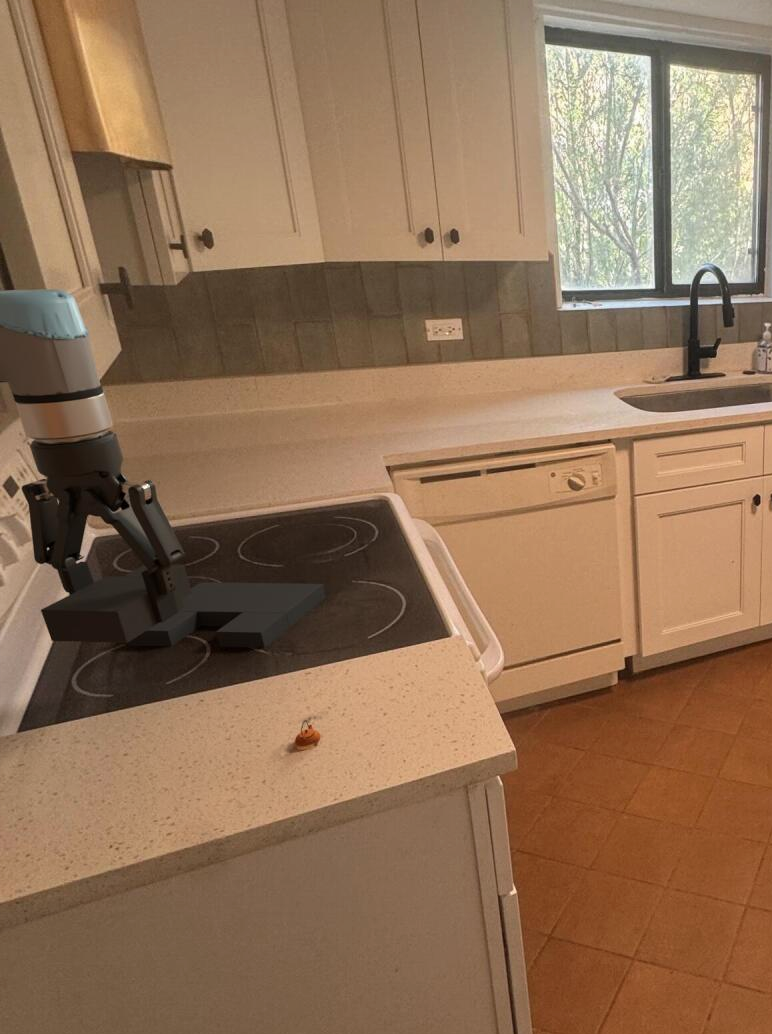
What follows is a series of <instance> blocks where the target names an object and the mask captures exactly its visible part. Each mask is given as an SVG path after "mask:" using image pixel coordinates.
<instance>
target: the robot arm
mask: <svg viewBox="0 0 772 1034" xmlns="http://www.w3.org/2000/svg"><path fill="white" fill-rule="evenodd" d="M89 333H90V332H89V330H88V327H87V326H85V322H84V320H83V317H82V315H81V312H80V309H79V306H78V303H77V301H76V299H75V297H74V296H73V295H72V294H71V293H69V292H67V291H65V290H62V289H56V288H55V289H54V288H53V289H52V288H51V289H50V288H37V289H8V290H7V289H6V290H0V383H8V386H9V389H10V391H11V394H12V397H13V400H14V403H15V405H16V410H17V412H18V415H19V418H20V422H21V424H22V428H23V432H24V435H25V437H27V438H29V439H32V440H33V441H31V443H30V444H29V448H30V452H31V454H32V457H33V460H34V463H35V467H36V469H37V472H38V473H39V474H41V475H42V476H44V477H46V478H42V479H39V480H35V481H31V482H29V483H27V484H24V485H22V486H21V491H22V493H23V496H24V498H25V501H26V502H27V504H28V512H29V520H30V521H29V522H30V530H31V539H32V548H33V556H34V557H33V558H34V561H35V562H36V563H37V564H39V565H44V564H48V565H50V566H51V567H52V568H53V569H54V570H56V571H57V573H58V576H59V579H60V583H61V585H62V588H63V590H64V591H65V592H66V593H68V596H69V595H71V594H73V593H75V592H77V591H79V590H81V589H83V588H85V587H86V586H88V585H90V584H92V583H94V582H95V581H94V579H93V575H92V572H91V570H90V566H89V564H88V561H81V560H83V559H84V558H85V556H84V555H81V551H82V545H83V541H84V535H85V531H86V527H87V521H88V517H89V516H93V517H97V518H98V517H99V518H100V519H102V521H103V522H104V523H105V524H106V525H110V526H112V527H113V528H114V530H115V531H116V532H117V533H118V534H119V536H120V538H122V540H123V541H124V542H125V543H126V544H127V546H128V547H129V549H131V551H132V552H133V553H134V554H135V555H136V557H137V558H138V560H140V561H141V563H142V564H143V565H145V566H146V567H147V570H145V571H143V572H142V576H143V580H144V583H145V586H146V590H147V593H148V596H149V599H150V602H151V606H152V609H153V612H154V616H155V619H156V622H164V621H165V620H167V619H169V618H170V617H172V616H173V615H175V614H177V613H178V612H179V611H178V607H177V604H176V600H175V597H174V593H173V591H174V590H176V584H175V580H174V577H173V573H172V570H171V565H172V564H176V563H178V562H179V561H182V560H183V559H185V557H186V552H185V550H184V549H183V546H182V545H181V543H180V541H179V539H178V537H177V535H176V533H175V531H174V529H173V527H172V525H171V524H170V521H169V519H168V518H167V515H166V514H165V512H164V510H163V508H162V506H161V504H160V502H159V500H158V495H157V489H156V484H155V483H154V481H152V480H150V479H148V480H145V481H142V482H135V481H129V480H128V478H127V477H126V476H125V475H124V474H123V471H122V464H123V462H124V456H123V452H122V449H121V445H120V442H119V439H118V438H119V437H118V435H117V433H115V432H114V431H112V430H110V429H111V428H112V427H113V426H114V422H113V421H112V420H113V419H112V416H111V413H110V409H109V405H108V401H107V398H106V395H105V392H104V389H103V386H102V383H101V382H100V378H99V375H98V371H97V368H96V363H95V362H96V361H95V358H94V354H93V349H92V345H91V342H90V337H89ZM119 509H121V510H120V511H118V510H119ZM155 557H156V558H155ZM78 561H79V562H78Z"/></svg>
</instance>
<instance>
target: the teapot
mask: <svg viewBox="0 0 772 1034" xmlns="http://www.w3.org/2000/svg"><path fill="white" fill-rule="evenodd" d="M305 723H306V724H307V729H304V724H305ZM320 740H321V733H320V732H319V731H318V730H316V729H314V727H313V724H309V722H308V720H307V719H305V720H303V721H302V723H301V727H300V732H299V733H298V734H297V735H296V737H295V739H294V747H295V748H296V749H297V750H301V751H303V750H310V749H313V748H315V747H317V746H318V743H319V742H320Z"/></svg>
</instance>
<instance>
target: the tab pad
mask: <svg viewBox="0 0 772 1034" xmlns="http://www.w3.org/2000/svg"><path fill="white" fill-rule="evenodd" d="M145 570H147V567H146V566H145V565H144V564H143V565H142V566H140V567H138V568H136V569H133V570H132V571H130V572H128V573H125V574H124V575H122V576H104V577H102V578H100V579H98V580H97V581H94V583H92V584H90V585H88V586H86V587H85V588H83V589H81V590H79V591H77V592H75V593H73V594H71V595H69V594H68V595H67V596H65V597H63V598H61V599H58V600H57V601H55V602H53V603H51V604H49V605H46V606H45V607H43V608H41V609H40V612H41V615H42V617H43V620H44V624H45V626H46V628H47V631H48V634H49V637H50V640H51V641H52V642H75V643H76V642H78V643H80V642H81V643H82V642H83V643H114V644H115V643H116V644H117V643H118V644H119V643H121V644H127V643H128V642H129V641H131V640H133V639H134V638H136V637H137V636H139V635H140V634H142V633H144V632H145V631H147V630H148V629H150V628H152V627H153V626H155V625H156V624H158V623H160V622H156V619H155V616H154V612H153V609H152V606H151V602H150V599H149V596H148V593H147V590H146V586H145V583H144V580H143V576H142V572H143V571H145ZM171 570H172V573H173V577H174V580H175V584H176V590H174V591H173V593H174V597H175V600H176V604H177V607H178V611H179V610H180V609H182V608H184V604H183V600H182V598H184V597H185V596H187V595H189V594H190V593H192V591H191V588H192V587H191V585H190V580H189V577H188V574H187V571H186V570H187V569H186V567H185V564H176V563H174V564H172V565H171Z"/></svg>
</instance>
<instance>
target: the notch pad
mask: <svg viewBox="0 0 772 1034" xmlns="http://www.w3.org/2000/svg"><path fill="white" fill-rule="evenodd" d="M190 588H191V591H192V593H190V594H189V595H187V596H185V597H184V598H182V600H183V604H184V608H182V609H180V610H179V612H178V613H177V614H175V615H173V616H172V617H170V618H169V619H167V620H165V621H164V622H160V623H158V624H156V625H155V626H153V627H152V628H150V629H148V630H147V631H145V632H144V633H142V634H140V635H139V636H137V637H136V638H134V639H133V640H131V641H129V642H128V643H126V644H127V646H128V647H129V646H132V647H133V646H134V647H136V646H137V647H173V646H174V645H176V644H178V643H179V642H180V641H182V640H183V639H184V638H186V637H187V636H189V635H190V634H192V633H193V632H195V631H196V630H197V629H199V628H201V627H220V628H218V630H216V631H215V634H216V637H217V641H218V645H219V647H220V648H256V649H257V648H259V649H265V648H267V647H268V646H269V645H270V644H271V643H272V642H274V641H275V640H276V639H277V638H279V637H280V636H281V635H282V634H283V633H285V632H287V630H288V629H290V628H291V627H292V626H293V625H295V624H296V623H297V622H298V621H299V620H300V619H301V618H303V617H304V616H306V615H307V614H309V612H310V611H312V610H313V609H314V608H315V607H317V605H319V604H320V603H321V602H322V601H324V600H325V599H326V598H327V597H326V592H325V589H324V588H325V587H324V584H323V583H289V582H287V583H283V582H281V583H280V582H279V583H277V582H214V581H213V582H211V581H210V582H208V581H207V582H205V581H204V582H203V581H201V582H199V583H198V584H196V585H194V586H192V587H190Z"/></svg>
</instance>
